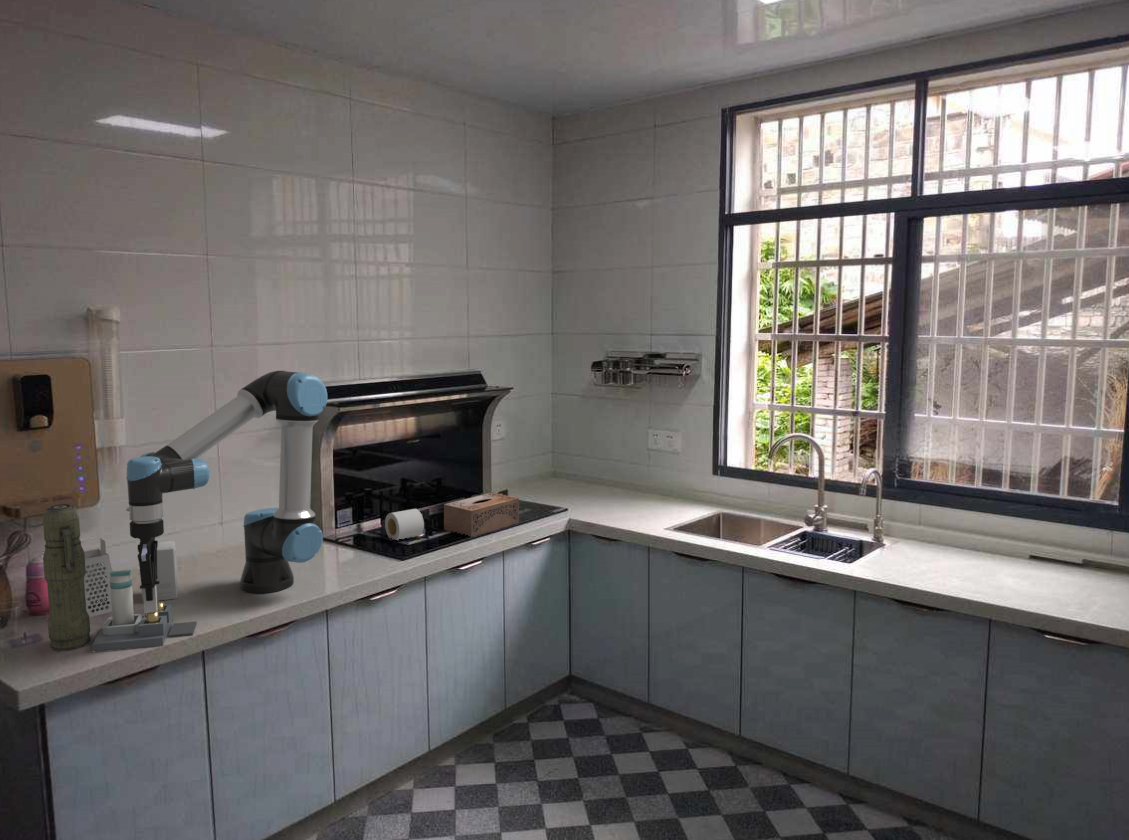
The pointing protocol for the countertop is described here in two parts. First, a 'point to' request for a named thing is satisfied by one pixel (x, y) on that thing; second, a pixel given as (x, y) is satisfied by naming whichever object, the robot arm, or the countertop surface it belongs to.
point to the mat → (182, 629)
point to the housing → (134, 632)
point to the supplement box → (166, 571)
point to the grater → (97, 578)
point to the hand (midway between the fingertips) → (151, 611)
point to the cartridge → (122, 597)
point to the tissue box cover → (481, 514)
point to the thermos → (65, 579)
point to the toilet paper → (404, 524)
